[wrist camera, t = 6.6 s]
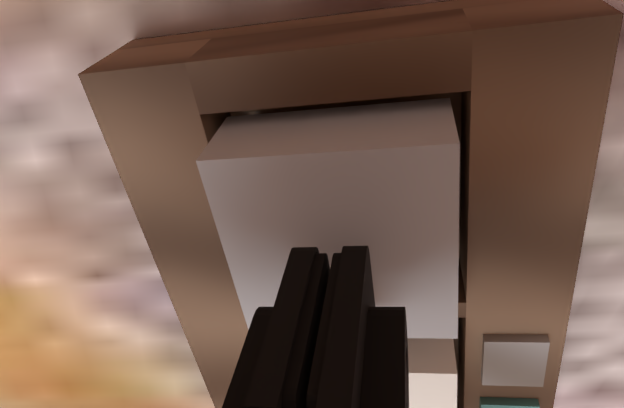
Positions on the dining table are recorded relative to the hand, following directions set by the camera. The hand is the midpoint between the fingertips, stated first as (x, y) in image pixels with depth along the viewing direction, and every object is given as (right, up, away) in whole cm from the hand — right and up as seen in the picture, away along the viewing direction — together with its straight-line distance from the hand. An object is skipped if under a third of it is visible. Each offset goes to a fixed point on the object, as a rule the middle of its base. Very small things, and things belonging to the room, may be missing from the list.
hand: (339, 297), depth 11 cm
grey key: (0, +2, +3) cm, 3 cm away
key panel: (+2, -2, +8) cm, 9 cm away
